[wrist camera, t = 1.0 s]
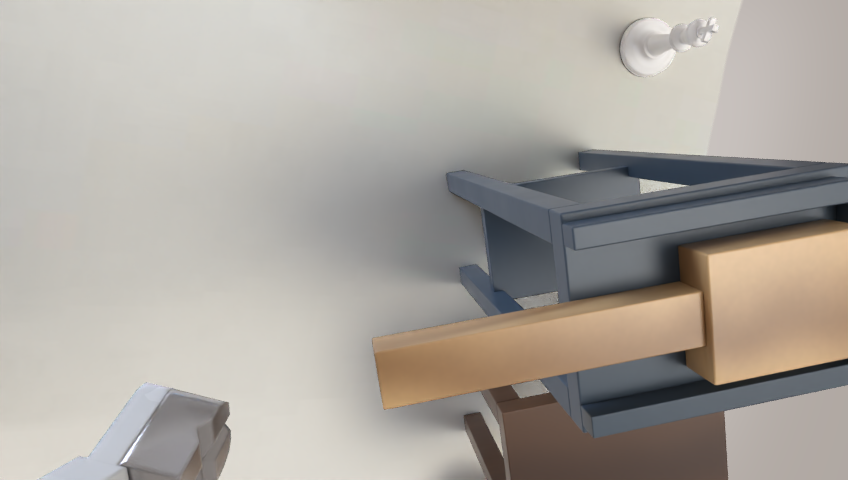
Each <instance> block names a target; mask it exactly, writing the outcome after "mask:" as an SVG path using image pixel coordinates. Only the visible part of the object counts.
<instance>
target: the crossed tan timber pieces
mask: <svg viewBox="0 0 848 480" xmlns="http://www.w3.org/2000/svg"><path fill="white" fill-rule="evenodd" d="M678 252H679V267H680V281H681V282H679V281H678V282H673V283H667V284H662V285H657V286H651V287H646V288H640V289H635V290H630V291H624V292H619V293H613V294H608V295H603V296H597V297H592V298H586V299H581V300H575V301H570V302H565V303H559V304H554V305H548V306H543V307H538V308H532V309H527V310H521V311H516V312H511V313H505V314H500V315H494V316H489V317H484V318H478V319H473V320H467V321H462V322H457V323H451V324H446V325H440V326H435V327H429V328H424V329H419V330H413V331H408V332H402V333H397V334H392V335H386V336H381V337H375V338H372V344H373V350H374V356H375V362H376V368H377V374H378V380H379V386H380V392H381V397H382V403H383V408H384V410H386V409H391V408H396V407H401V406H406V405H411V404H416V403H421V402H427V401H432V400H437V399H442V398H447V397H452V396H457V395H462V394H467V393H472V392H477V391H482V390H487V389H492V388H497V387H502V386H507V385H512V384H517V383H523V382H528V381H533V380H538V379H543V378H548V377H553V376H558V375H563V374H568V373H573V372H578V371H583V370H588V369H593V368H598V367H603V366H608V365H613V364H619V363H624V362H629V361H634V360H639V359H644V358H649V357H654V356H659V355H664V354H669V353H674V352H679V351H684V350H685V353H686V365H687V367H688V368H690V369H691V370H693V371H694V372H696V373H697V374H699V375H700V376H702V377H703V378H705V379H706V380H708V381H709V382H711V383H712V384H714V385H721V384H726V383H730V382H735V381H740V380H745V379H750V378H755V377H760V376H764V375H769V374H774V373H779V372H784V371H789V370H794V369H799V368H803V367H808V366H813V365H818V364H823V363H828V362H833V361H837V360H842V359H847V358H848V223H846V222H840V221H834V220H828V219H823V220H817V221H812V222H806V223H800V224H795V225H789V226H783V227H778V228H772V229H767V230H761V231H755V232H750V233H744V234H739V235H733V236H727V237H722V238H716V239H711V240H705V241H699V242H694V243H688V244H682V245H679V246H678Z"/></svg>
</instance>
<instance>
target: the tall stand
mask: <svg viewBox="0 0 848 480" xmlns="http://www.w3.org/2000/svg"><path fill="white" fill-rule="evenodd" d="M578 154H579V165H580V170H584V171H588V172H582V173H575V174H569V175H563V176H557V177H551V178H544V179H538V180H532V181H526V182H520V183H514V184H510V183H507V182H503V181H500V180H496V179H492V178H489V177H485V176H482V175H478V174H475V173H471V172H468V171H464V170H463V171H456V172H450V173H446V175H447V182H448V190H449V191H450V192H452V193H454V194H456V195H457V196H459V197H461V198H463V199H465V200H467V201H469V202H471V203H473V204H475V205H477V206H479V207H480V208H481V215H482V223H483V231H484V238H485V246H486V254H487V262H488V269H489V276H488V275H487V274H486V273H485V272H484V271H483V270H482V269H481V268H480V267H479V266H478V265H477V264H475V265H469V266H463V267H460V268H459V269H460V276H461V283H462V285H463V286H464V287H465V289H466V290H467V291H468V292H469V294H470V295H471V296H472V297H473V298H474V300H475V301H476V302H477V303H478V305H479V306H480V307H481V308H482V309H483V311H484V312H485V313H486V314H487V316H488V317H489V316H494V315H500V314H505V313H511V312H516V311H521V310H524V309H523V308H522V307H521V306H520V305H519V304H518V303H517V302H516V301H515V300H514V299H517V298H522V297H528V296H533V295H539V294H544V293H549V292H555V291H558V298H559V303H565V302H570V301H575V300H581V299H586V298H592V297H597V296H603V295H608V294H613V293H619V292H624V291H630V290H635V289H640V288H646V287H651V286H657V285H662V284H667V283H673V282H678V281H679V282H681V281H680V267H679V252H678V246H679V245H682V244H688V243H694V242H699V241H705V240H711V239H716V238H722V237H727V236H733V235H739V234H744V233H750V232H755V231H761V230H767V229H772V228H778V227H783V226H789V225H795V224H800V223H806V222H812V221H817V220H823V219H828V220H834V221H840V222H846V223H848V164H846V163H825V162H809V161H792V160H774V159H754V158H738V157H719V156H701V155H683V154H665V153H647V152H628V151H610V150H589V151H583V152H579V153H578ZM639 178H640V179H647V180H654V181H661V182H668V183H675V184H682V185H689V186H686V187H680V188H674V189H668V190H662V191H656V192H650V193H644V194H640V182H639ZM540 380H541V382H542V383H543V384H544V385H545V387H546V388H547V389H548V390H549V391H550V393H551V394H552V395H553V396H554V398H555V399H556V400H557V401H558V402H559V404H560V405H561V406H562V407H563V409H564V410H565V411H566V412H567V414H568V415H569V416H570V417H571V418H572V419H573V421H574V422H575V423H576V424H577V426H578V427H579V428H580V429H581V430H582V432H583V433H587V432H589V433H590V435H591V436H592V437H593V438H598V437H603V436H608V435H612V434H617V433H622V432H627V431H631V430H636V429H641V428H646V427H650V426H655V425H660V424H665V423H669V422H674V421H679V420H684V419H688V418H693V417H698V416H703V415H707V414H712V413H717V412H722V411H726V410H731V409H735V408H740V407H745V406H750V405H755V404H760V403H764V402H768V401H774V400H779V399H783V398H788V397H793V396H798V395H802V394H807V393H811V392H817V391H821V390H826V389H830V388H836V387H840V386H845V385H848V358H847V359H842V360H837V361H833V362H828V363H823V364H818V365H813V366H808V367H803V368H799V369H794V370H789V371H784V372H779V373H774V374H769V375H764V376H760V377H755V378H750V379H745V380H740V381H735V382H730V383H726V384H721V385H714V384H712V383H711V382H709V381H708V380H706V379H705V378H703V377H702V376H700V375H699V374H697V373H696V372H694V371H693V370H691V369H690V368H688V367H687V365H686V353H685V350H684V351H679V352H674V353H669V354H664V355H659V356H654V357H649V358H644V359H639V360H634V361H629V362H624V363H619V364H613V365H608V366H603V367H598V368H593V369H588V370H583V371H578V372H573V373H568V374H563V375H558V376H553V377H548V378H543V379H540Z"/></svg>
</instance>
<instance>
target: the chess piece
mask: <svg viewBox="0 0 848 480" xmlns="http://www.w3.org/2000/svg"><path fill="white" fill-rule="evenodd" d="M716 22H717V19H716V18H713V17H711V18H709V19H708V21H706V20H704V19H696V20H694V21H692V22H691V23H690V24H689V25H687V24H678V25H676V26H675V27H674V28H673V29H671V27H670V26H669V25H668V24H667V23H666V22H664V21H662V20H660V19H657V18H644V19H640V20H638V21H636V22H634V23H633V24H631V25H630V26H629V27H628V28H627V30H626V31H625V33H624V35H623V37H622V40H621V45H620V53H621V58H622V61H623V63H624V65H625V66H626V68H627V69H628V70H629V71H630V72H632V73H633V74H635V75H637V76H640V77H651V76H655V75H657V74H659V73H661V72H663V71H664V70H665V69H666V68H668V66H669V65H670V64H671V63H672V61H673V59H674V57H675V54H676V51H677V52H685V51H687V50H689V49H690V48H691V47H692V46H693V47H702V46H704V45H706V44H707V43H708V42H709V41H710V39H711V36H712V34H713V33H716V32H718V29H719V27H720V26H718V25H716Z"/></svg>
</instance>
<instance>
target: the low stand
mask: <svg viewBox="0 0 848 480" xmlns="http://www.w3.org/2000/svg"><path fill="white" fill-rule="evenodd" d="M481 393H482V395H483V397H484V398H485V400H486V402H487V404H488V406H489V407H490V409H491V411H492V413H493V415H494V417H495V418H496V420H497V422H498V424H499V427H500V434H501V442H502V449H503V456H502V454H501V452H500V450H499V448H498V446H497V444H496V442H495V440H494V439H493V437H492V435H491V433H490V431H489V429H488V427H487V425H486V423H485V421H484V419H483V417H482V415H481V413H480V412H479V413H474V414H469V415H464V421H465V428H466V432H467V435H468V437H469V439H470V442H471V444H472V446H473V449H474V451H475V453H476V456H477V458H478V460H479V463H480V465H481V468H482V470H483V472H484V475H485V477H486V479H487V480H728V470H727V452H726V434H725V417H724V411H722V412H717V413H712V414H707V415H703V416H698V417H693V418H688V419H684V420H679V421H674V422H669V423H665V424H660V425H655V426H650V427H646V428H641V429H636V430H631V431H627V432H622V433H617V434H612V435H608V436H603V437H598V438H593V437H592V436H591V435H590V433H589V432H587V433H583V432H582V430H581V429H580V428H579V427H578V426H577V424H576V423H575V422H574V421H573V419H572V418H571V417H570V416H569V415H568V414H567V412H566V411H565V410H564V409H563V407H562V406H561V405H560V404H559V402H558V401H557V400H556V399H555V398H554V396H553V395H552V394H551V393H545V394H540V395H535V396H530V397H525V398H519V396H518V395H517V393H516V392H515V390H514V389H513V387H512V386H511V385H507V386H502V387H497V388H492V389H487V390H482V391H481ZM503 457H504V458H503Z"/></svg>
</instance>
